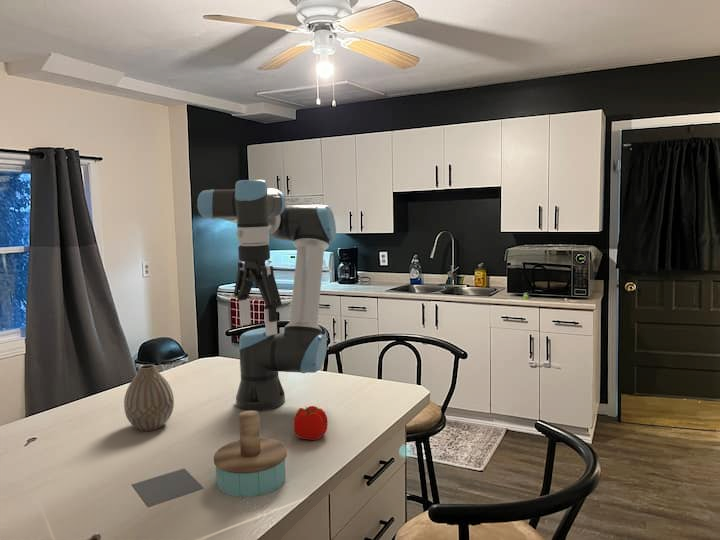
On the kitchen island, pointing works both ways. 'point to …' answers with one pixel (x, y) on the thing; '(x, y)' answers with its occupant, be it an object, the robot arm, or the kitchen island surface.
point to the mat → (166, 487)
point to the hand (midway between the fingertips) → (258, 329)
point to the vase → (148, 399)
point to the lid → (250, 449)
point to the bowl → (251, 481)
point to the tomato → (310, 423)
